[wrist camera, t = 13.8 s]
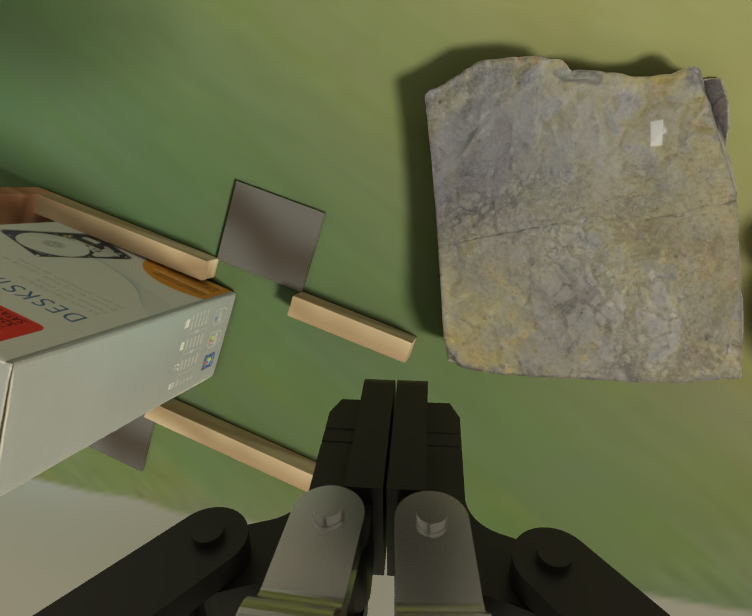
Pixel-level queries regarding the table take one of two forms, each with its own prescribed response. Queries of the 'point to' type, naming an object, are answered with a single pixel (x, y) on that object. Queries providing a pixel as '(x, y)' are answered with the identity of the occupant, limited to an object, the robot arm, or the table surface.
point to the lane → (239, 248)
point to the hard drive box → (92, 341)
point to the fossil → (586, 223)
